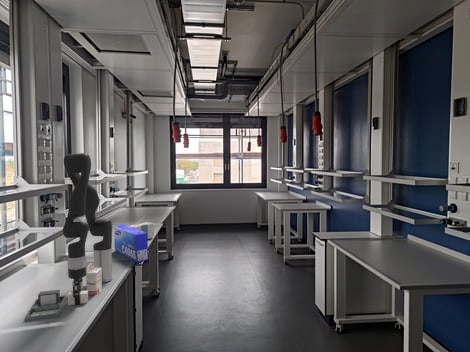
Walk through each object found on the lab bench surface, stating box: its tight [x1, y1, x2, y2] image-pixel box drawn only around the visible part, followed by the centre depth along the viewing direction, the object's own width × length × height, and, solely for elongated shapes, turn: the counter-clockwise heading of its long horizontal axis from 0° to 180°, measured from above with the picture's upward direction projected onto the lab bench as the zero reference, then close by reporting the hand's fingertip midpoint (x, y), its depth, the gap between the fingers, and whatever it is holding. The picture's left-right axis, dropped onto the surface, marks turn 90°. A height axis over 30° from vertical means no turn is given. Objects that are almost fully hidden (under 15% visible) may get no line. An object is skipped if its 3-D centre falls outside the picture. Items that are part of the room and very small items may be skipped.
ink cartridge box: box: [85, 261, 103, 296], centre depth 173 cm, size 9×5×15 cm, turn 4°
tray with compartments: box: [24, 295, 67, 322], centre depth 152 cm, size 20×12×3 cm, turn 18°
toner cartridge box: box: [113, 224, 149, 263], centre depth 242 cm, size 39×8×18 cm, turn 39°
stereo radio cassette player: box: [128, 214, 155, 240], centre depth 289 cm, size 21×8×20 cm, turn 148°
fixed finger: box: [37, 289, 61, 306], centre depth 157 cm, size 4×8×6 cm, turn 108°
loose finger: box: [67, 289, 89, 306], centre depth 160 cm, size 4×8×6 cm, turn 108°
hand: (78, 303), depth 160 cm, fingers closed on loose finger, 4 cm apart
